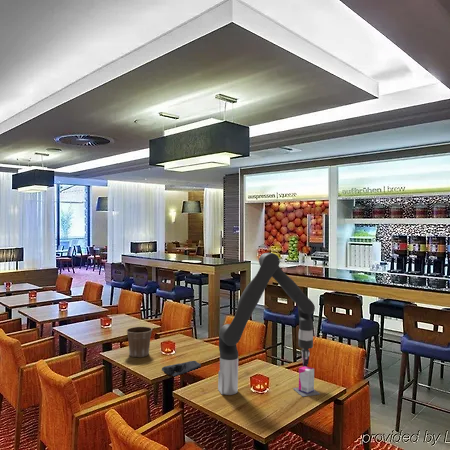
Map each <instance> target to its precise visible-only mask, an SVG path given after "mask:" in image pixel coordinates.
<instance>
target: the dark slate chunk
mask: <svg viewBox="0 0 450 450" xmlns="http://www.w3.org/2000/svg"><path fill="white" fill-rule="evenodd" d="M201 367H202V364H201V363H199V362H197V361H196V360H189V361H185V362H182V363H181V362H180V363H175V364H170V365H165V366H163V367H162V368H161V371H162V372H164V373H165V374H166V375H168V376H169V375H170V376H171V377H172V376H173V377H178V376H180V375H184V374H187V373H188V372H193V371H195V370H197V369H199V368H201Z"/></svg>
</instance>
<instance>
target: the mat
mask: <svg viewBox="0 0 450 450" xmlns="http://www.w3.org/2000/svg"><path fill="white" fill-rule="evenodd" d="M292 390H293V391H294V392H295V393H297V394H298V395H300V396H301V397H303V398H305V397H311V396H313V397H314V396H319V395H320V396H321V393H320V392H318V391H317V390H316V389H315V388H314V391H313V392H311V393H309V394H307V393H304V392H301V391H299V386H298V387H293V388H292Z"/></svg>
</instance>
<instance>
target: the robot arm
mask: <svg viewBox="0 0 450 450" xmlns="http://www.w3.org/2000/svg"><path fill="white" fill-rule="evenodd" d="M280 261H281V259H280V258H279V255H277V254H276V253H272V252H264V253H262V254H261V255H260V256H259V257H258V264H259V269H258V271H257V273H256V275H255V276H254V277H253V278H252V280H251V281H249V283H248V284H247V285H246V287H244V290H243V291H242V292H241V295H240V297H239V299H238V302H237V306H236V310H235V315H234V316H233V318H232V321H231V323H226V324H224V325H222V326H221V327H220V329H219V331H218V332H219V333H218V350H219V371H218V373H217V375H218V376H217V377H218V379H217V381H218V382H217V390H218V392H219V393H220V394H221V395H225V396H227V395H228V396H231V395H235V394H237V393H238V392H239V391H238V390H239V389H238V388H239V387H238V386H239V350H238V347H237V344H238V343H239V342H240V340H241V338H242V336H243V333H244V331H245V328H246V326H247V325H248V324H247V323H248V322H249V320H250V318H251V316H252V314H253V312H254V311H255V309H256V308H257V305H258V303H259V301H260V299H261V298H262V296H263V293H264V292H265V289H266V287H267V286H268V284H269V282H270V280H271V279H274V280H275V281H276V282H277V283H278V285H279V286H280V287H281V289H282V290H283V291H284V292H285V293H286V295H287V296H288V297H289V298H290V299H291V301H292V302H294V303H295V304H296V305H297V311H298V320H299V326H298V327H299V328H298V343H297V344H298V347H299V348H300V349H301V360H302V367H304V366H307V367H309V366H308V365H309V361H310V352H311V351H310V349H313V347H314V331H313V330H314V329H313V327H314V323H313V319H312V315H313V313H314V312H315V310H316V307H315V303H314V302H313V301H312V300H311V299H310V298H309V297H308V296H307V295H306V294H305V293H304V292H303V290H302V289H301V288H300V287H299V286H298V284H297V283H296V282H295V281H294V280H293V279H292V278H291V277H290V276H289V275H288V274H286V273H285V272H284V270H283V269H282V268H281V267H280Z"/></svg>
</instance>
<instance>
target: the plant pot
mask: <svg viewBox="0 0 450 450" xmlns="http://www.w3.org/2000/svg"><path fill="white" fill-rule="evenodd" d="M152 331H153V328H152V327H149V326H133V327H130V328H126V333H127V339H128V340H127V341H128V350H129V351H128V352H129V356H130V357H131V358H136V357H137V358H145V357H147V356H149V354H150V347H151V346H150V344H151V336H152Z"/></svg>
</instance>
